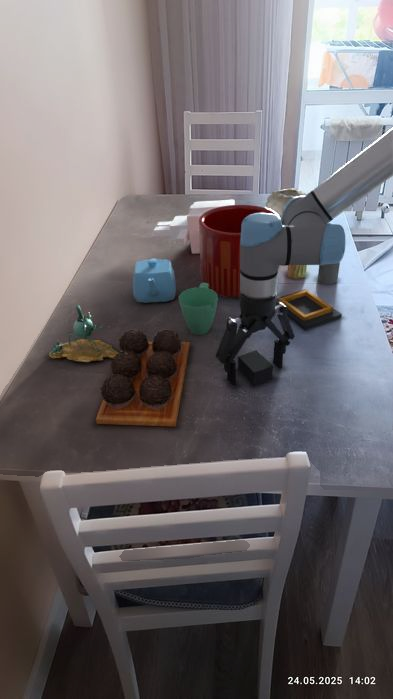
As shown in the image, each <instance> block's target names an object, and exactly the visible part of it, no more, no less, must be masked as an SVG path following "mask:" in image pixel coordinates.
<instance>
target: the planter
mask: <svg viewBox="0 0 393 699" xmlns="http://www.w3.org/2000/svg"><path fill="white" fill-rule="evenodd" d="M254 213H267V214H275V215H277V216H278V217H279V215H278V214H277V213H275V212H274V211H272V210H270V209H267V208H265V206H264V207H263V206H259V205H252V204H234V205H228V206H222V207H217V208H214V209H211V210H209V211H207V212H205V213H203V214H202V215H201V216H200V218H199V246H200V253H199V267H200V270H199V271H200V282H201V283H207V284H209V287H210V289H211V290H213V291H215V292H216V294H217V296H220V297H224V298H228V299H240V291H241V290H240V239H241V227H242V222H243V220H244V219H245V218H246V217H247V216H249V215H251V214H254ZM279 218H280V217H279Z"/></svg>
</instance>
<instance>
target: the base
mask: <svg viewBox="0 0 393 699" xmlns="http://www.w3.org/2000/svg"><path fill="white" fill-rule="evenodd" d="M278 302H281V303H282V304H284V305H285V306H286V307H287V316H288V319H289V320H291V321H292V322H294V324H296V325H297V326H299V327H300V328H302V329H303V330H304V331H307V330H310V329H313V328H315V327H318V326H319V327H320V326H322V325H324V324H327V323H331V322H333V321H336V320H339V319H342V316H343V314H342V313H341V312H339V311H338V310H337V309H335V308H334V307H333V306H332V305H330V304H329V303H327V302H326V301H324V300H323V299H322V298H320V297H318V296H317V295H315V294H314V293H312V292H311V291H309V290H308V289H305V288H304V289H302V290H301V289H300V290H297V291H295V292H291V293H287V294H285V295H282V296H278V297H276V304H277V303H278Z"/></svg>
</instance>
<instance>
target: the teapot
mask: <svg viewBox="0 0 393 699" xmlns="http://www.w3.org/2000/svg"><path fill="white" fill-rule="evenodd" d="M132 286H133V287H132V291H133V297H134V299H135V301H136V302H138V303H144V304H148V303H161V302H162V303H167V302H169V301H172V300H174V299H175V296H176V291H177V282H176V275H175V271H174V268H173V264H172V262H171V260H170V259H165V258H158V259H157V258H155V257H152V258H150V259H142V260H137V261H136V263H135V266H134V272H133V279H132Z"/></svg>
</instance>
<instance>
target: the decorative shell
mask: <svg viewBox="0 0 393 699" xmlns="http://www.w3.org/2000/svg"><path fill="white" fill-rule="evenodd" d="M305 195H307V194H306V193H305V192H304V191H302V190H299V189H298V188H290V187H289V188H287V189H286V188H284V189H278V190H275V191H272V192H271V194H269V195H268V196H267V198H266V200H265V203H264V208H267V209H270V210H272V211H274V212H275V213H277V214H278V215H279V217H280V219H281V221H283V218H282V211H283V208H284V206H285V204H286V203H287V202H288V201H289V200H290V199H291V198H293V197H296V196H305Z"/></svg>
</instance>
